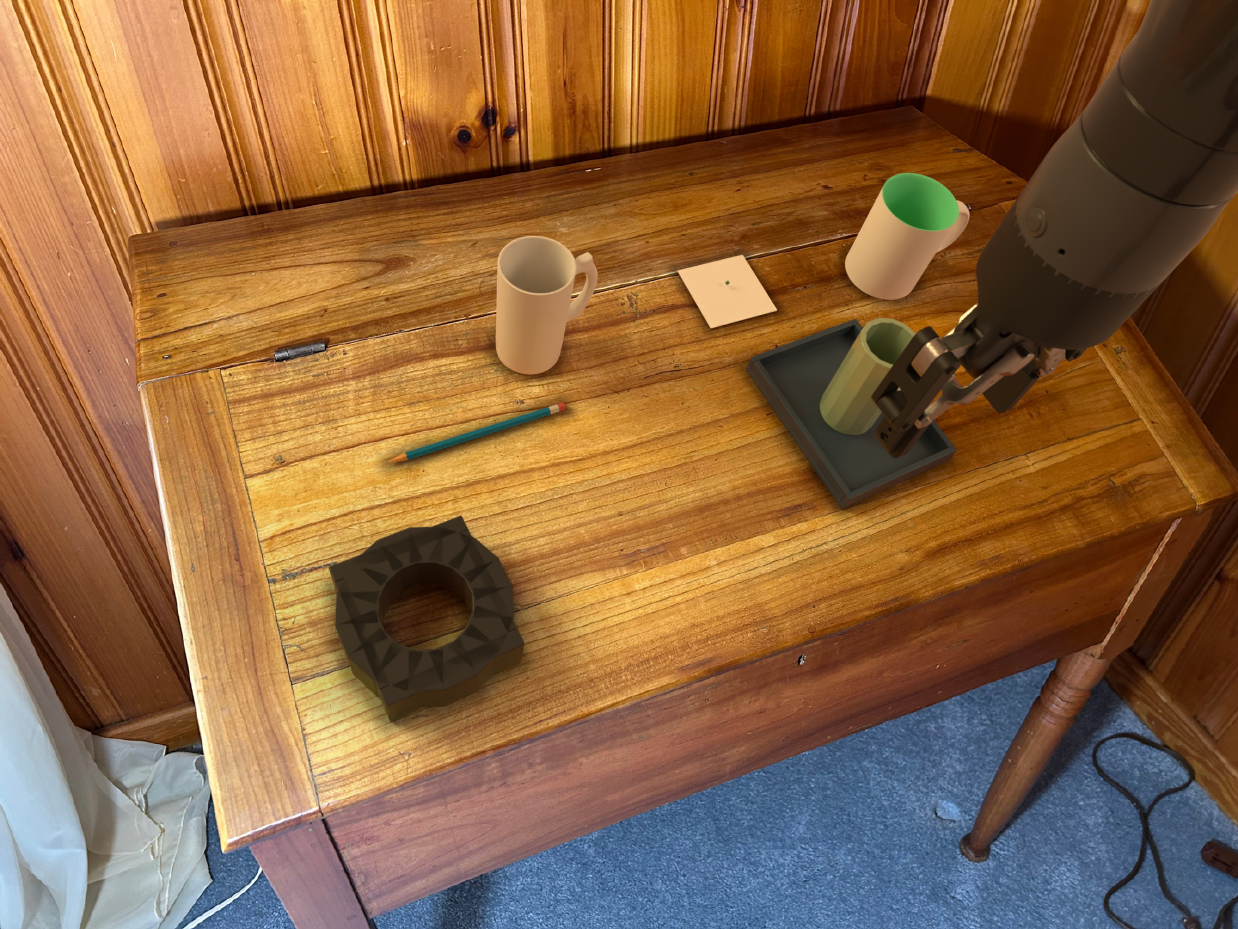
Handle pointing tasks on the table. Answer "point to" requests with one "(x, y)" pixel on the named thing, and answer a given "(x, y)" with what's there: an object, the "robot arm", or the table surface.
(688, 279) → the coaster
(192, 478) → the table surface
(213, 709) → the table surface
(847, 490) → the tray
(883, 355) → the cup
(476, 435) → the pencil
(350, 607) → the dark brown carved ring
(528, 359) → the mug
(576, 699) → the table surface
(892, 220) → the mug
